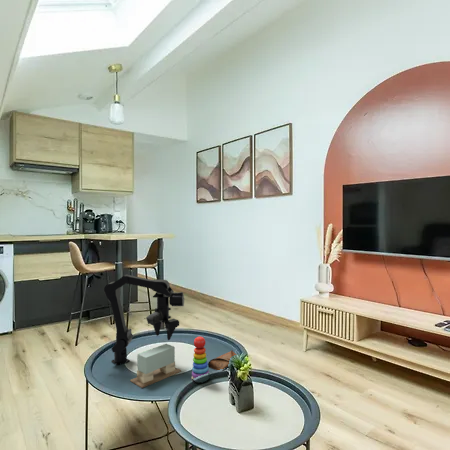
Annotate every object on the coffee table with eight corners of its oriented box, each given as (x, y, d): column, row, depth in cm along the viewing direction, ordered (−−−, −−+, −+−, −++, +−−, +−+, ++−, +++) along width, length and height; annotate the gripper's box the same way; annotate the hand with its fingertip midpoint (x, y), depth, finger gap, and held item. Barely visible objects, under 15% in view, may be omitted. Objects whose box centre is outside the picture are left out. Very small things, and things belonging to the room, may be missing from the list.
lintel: (137, 370, 144) (137, 354, 143) (166, 358, 156) (166, 343, 156) (145, 374, 140) (145, 357, 140) (174, 361, 152) (174, 346, 152)
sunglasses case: (221, 372, 151) (215, 357, 153) (211, 376, 155) (206, 362, 157) (244, 359, 165) (239, 346, 167) (235, 363, 169) (229, 350, 171)
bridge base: (130, 381, 143) (130, 370, 143) (169, 365, 158) (169, 356, 158) (141, 388, 137) (141, 377, 137) (181, 371, 152) (181, 361, 152)
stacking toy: (210, 376, 148) (210, 334, 148) (208, 384, 140) (208, 340, 140) (193, 375, 148) (193, 333, 148) (189, 383, 141) (189, 340, 140)
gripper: (138, 305, 163) (138, 337, 163) (160, 313, 150) (160, 347, 150) (156, 301, 171) (157, 331, 171) (180, 308, 158) (180, 340, 158)
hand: (163, 337), depth 162 cm, fingers open, 9 cm apart
